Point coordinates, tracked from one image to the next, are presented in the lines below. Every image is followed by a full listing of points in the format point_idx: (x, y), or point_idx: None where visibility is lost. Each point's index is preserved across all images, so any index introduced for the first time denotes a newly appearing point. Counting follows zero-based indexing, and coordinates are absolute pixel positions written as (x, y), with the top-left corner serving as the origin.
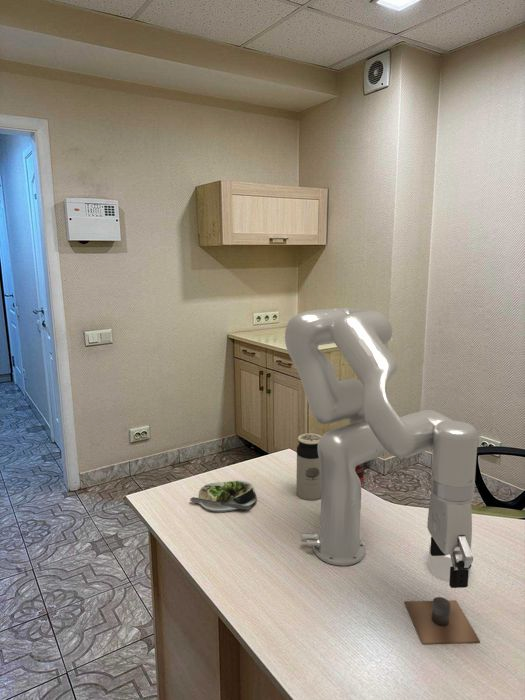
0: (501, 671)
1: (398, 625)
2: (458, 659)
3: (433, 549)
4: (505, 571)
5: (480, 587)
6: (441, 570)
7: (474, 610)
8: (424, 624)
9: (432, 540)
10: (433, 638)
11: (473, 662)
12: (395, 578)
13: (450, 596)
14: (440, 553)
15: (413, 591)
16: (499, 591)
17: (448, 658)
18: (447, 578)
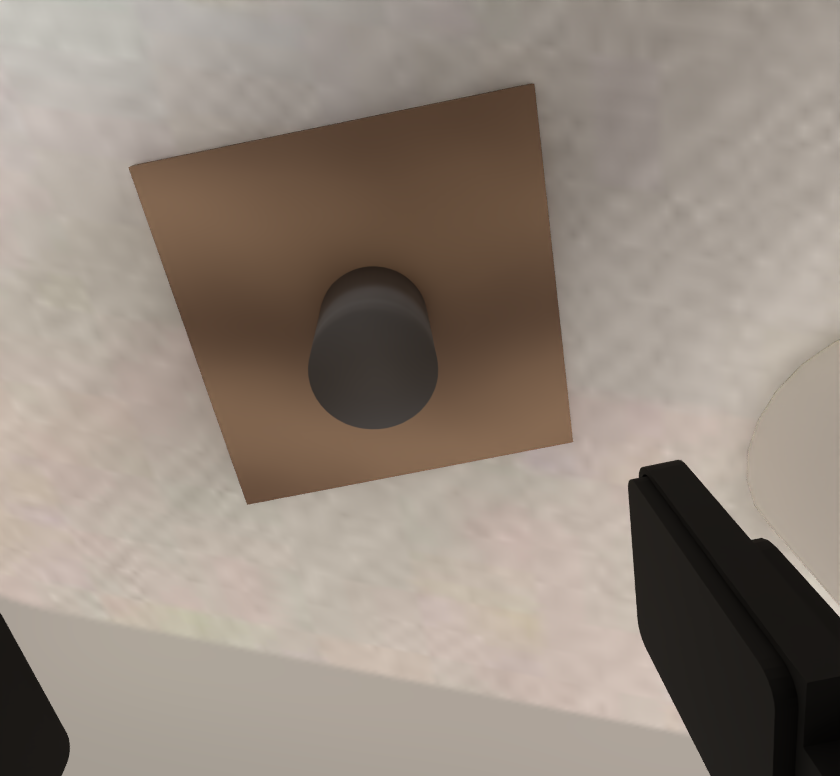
0: (79, 553)
1: (278, 3)
2: (84, 368)
3: (672, 548)
4: None
5: None
6: (824, 412)
7: (505, 517)
8: (310, 207)
9: (771, 649)
10: (193, 249)
11: (91, 441)
12: (819, 42)
13: (617, 413)
14: (648, 592)
15: (662, 175)
16: None
17: (71, 314)
18: (771, 428)
